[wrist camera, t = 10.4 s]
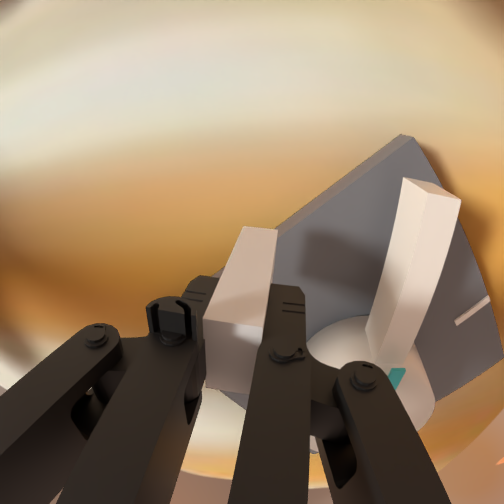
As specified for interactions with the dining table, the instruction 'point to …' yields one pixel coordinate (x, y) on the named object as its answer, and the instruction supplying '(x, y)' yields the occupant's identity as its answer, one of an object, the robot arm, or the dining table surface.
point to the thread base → (372, 263)
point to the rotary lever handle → (399, 300)
